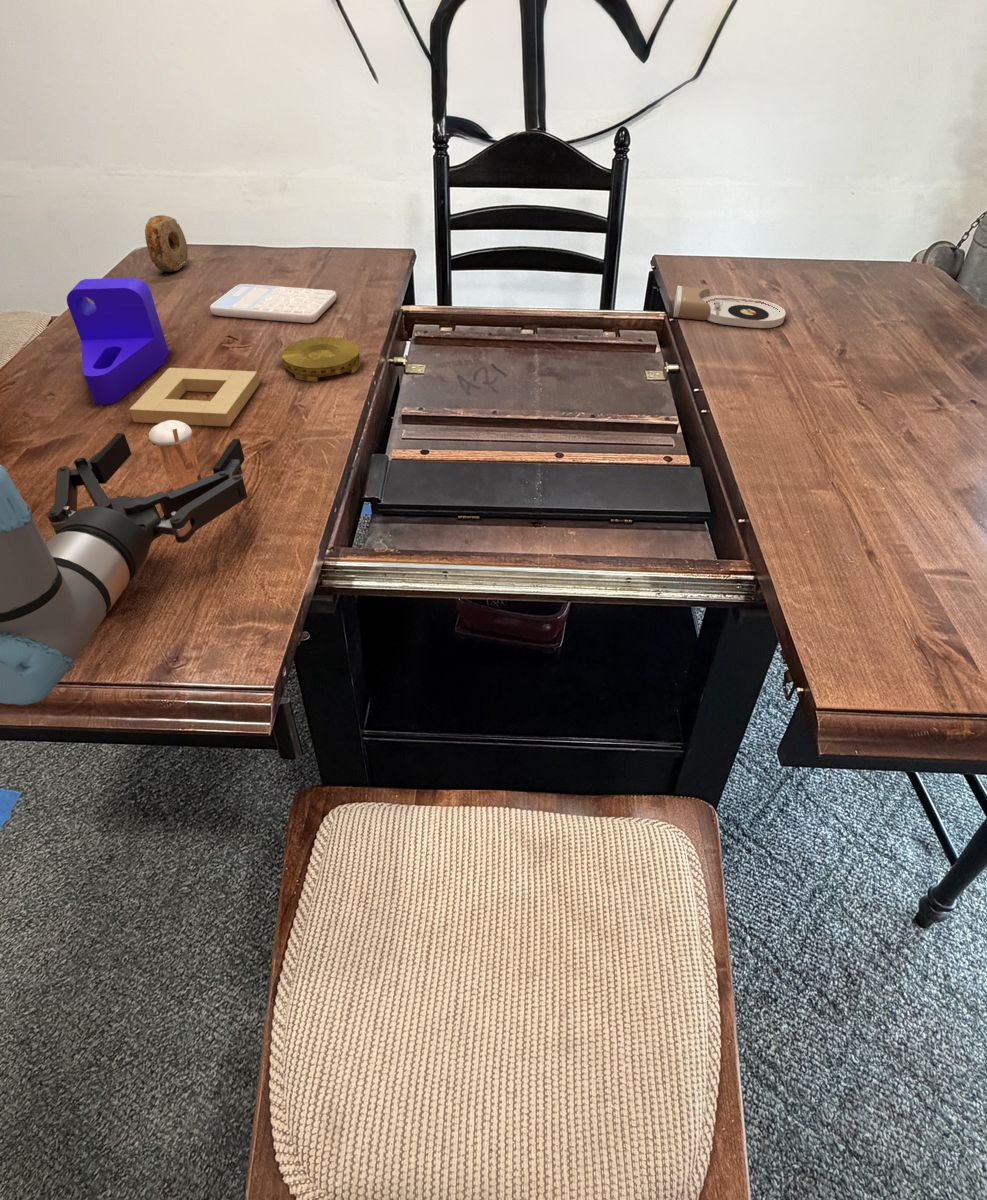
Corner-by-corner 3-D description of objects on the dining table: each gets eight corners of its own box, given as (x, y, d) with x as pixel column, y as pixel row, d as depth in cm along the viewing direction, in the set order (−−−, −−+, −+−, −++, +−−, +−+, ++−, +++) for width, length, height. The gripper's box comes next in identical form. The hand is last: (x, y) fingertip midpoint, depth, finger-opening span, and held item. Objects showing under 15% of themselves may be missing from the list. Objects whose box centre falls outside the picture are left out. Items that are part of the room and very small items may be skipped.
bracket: (99, 355, 115) (71, 279, 107) (169, 352, 116) (146, 277, 108) (64, 406, 102) (29, 324, 94) (143, 402, 103) (115, 321, 95)
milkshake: (179, 511, 83) (153, 434, 76) (164, 490, 86) (138, 415, 79) (217, 499, 85) (195, 423, 78) (201, 479, 88) (179, 404, 81)
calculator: (314, 324, 126) (312, 313, 125) (208, 316, 128) (206, 305, 127) (339, 299, 136) (337, 288, 135) (240, 291, 138) (238, 281, 137)
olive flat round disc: (372, 371, 112) (371, 357, 111) (299, 387, 107) (297, 374, 106) (342, 344, 120) (341, 331, 118) (273, 359, 115) (271, 346, 113)
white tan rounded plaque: (677, 282, 136) (785, 292, 134) (674, 299, 138) (780, 309, 136) (676, 303, 128) (791, 315, 125) (673, 320, 130) (785, 332, 127)
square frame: (133, 422, 99) (128, 409, 97) (172, 379, 109) (169, 367, 107) (229, 426, 98) (226, 413, 97) (260, 383, 108) (257, 371, 107)
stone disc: (169, 278, 143) (154, 224, 137) (152, 276, 144) (136, 222, 137) (195, 262, 151) (182, 210, 144) (179, 261, 151) (165, 209, 145)
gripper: (-18, 582, 70) (89, 469, 85) (231, 597, 69) (292, 479, 84) (-56, 520, 65) (65, 411, 80) (211, 535, 64) (281, 422, 79)
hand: (181, 446), depth 82 cm, fingers open, 13 cm apart
